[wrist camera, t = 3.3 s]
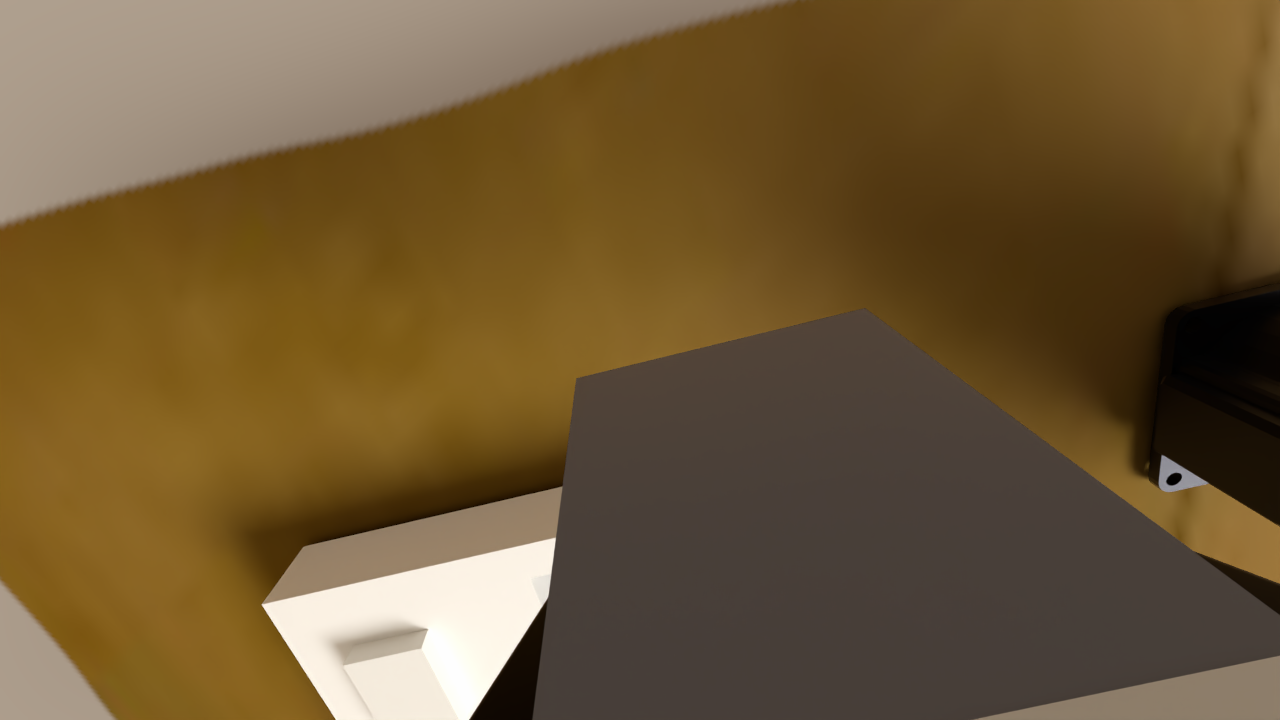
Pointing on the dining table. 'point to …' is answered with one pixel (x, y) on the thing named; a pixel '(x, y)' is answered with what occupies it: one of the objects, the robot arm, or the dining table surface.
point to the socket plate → (418, 608)
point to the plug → (866, 555)
